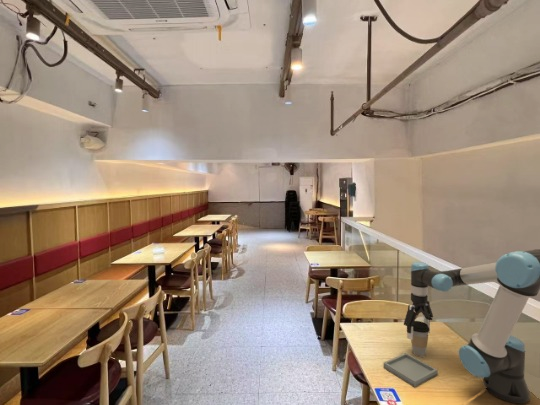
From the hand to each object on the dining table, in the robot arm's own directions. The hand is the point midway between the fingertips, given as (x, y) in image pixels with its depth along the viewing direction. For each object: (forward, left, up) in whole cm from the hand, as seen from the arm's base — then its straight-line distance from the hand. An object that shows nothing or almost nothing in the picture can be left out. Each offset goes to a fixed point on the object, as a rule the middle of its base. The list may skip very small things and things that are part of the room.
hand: (418, 335), depth 149 cm
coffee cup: (0, 0, -9) cm, 9 cm away
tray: (-7, +17, -9) cm, 21 cm away
